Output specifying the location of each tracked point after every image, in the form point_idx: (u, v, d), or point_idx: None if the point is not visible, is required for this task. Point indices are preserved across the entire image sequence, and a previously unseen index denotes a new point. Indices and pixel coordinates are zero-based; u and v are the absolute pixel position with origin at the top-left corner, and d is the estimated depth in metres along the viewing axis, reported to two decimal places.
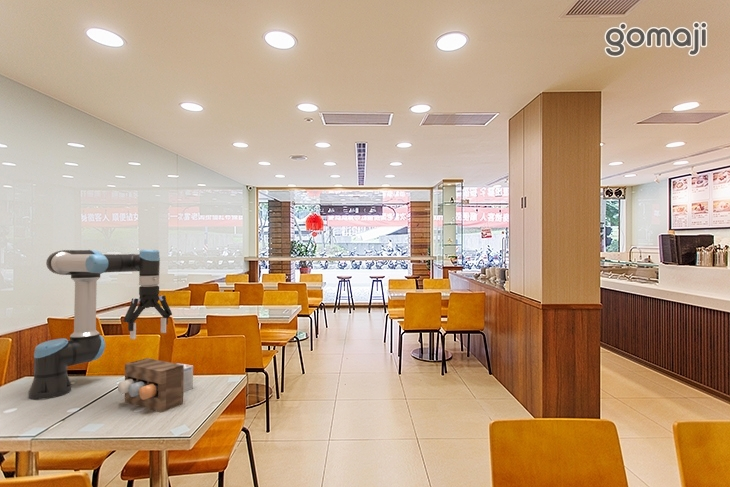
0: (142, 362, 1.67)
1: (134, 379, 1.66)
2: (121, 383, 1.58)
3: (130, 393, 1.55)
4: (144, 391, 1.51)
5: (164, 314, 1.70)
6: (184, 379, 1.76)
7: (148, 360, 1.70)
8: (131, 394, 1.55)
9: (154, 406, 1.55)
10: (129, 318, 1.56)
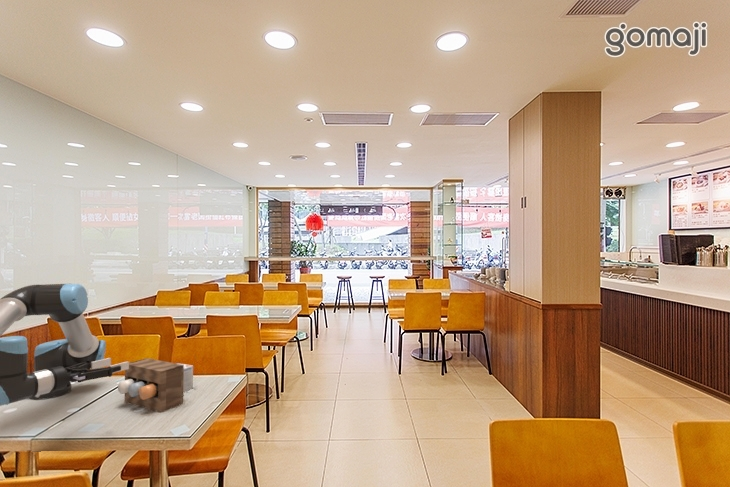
0: (142, 362, 1.67)
1: (134, 379, 1.66)
2: (121, 383, 1.58)
3: (130, 393, 1.55)
4: (144, 391, 1.51)
5: None
6: (184, 379, 1.76)
7: (148, 360, 1.70)
8: (131, 394, 1.55)
9: (154, 406, 1.55)
10: None
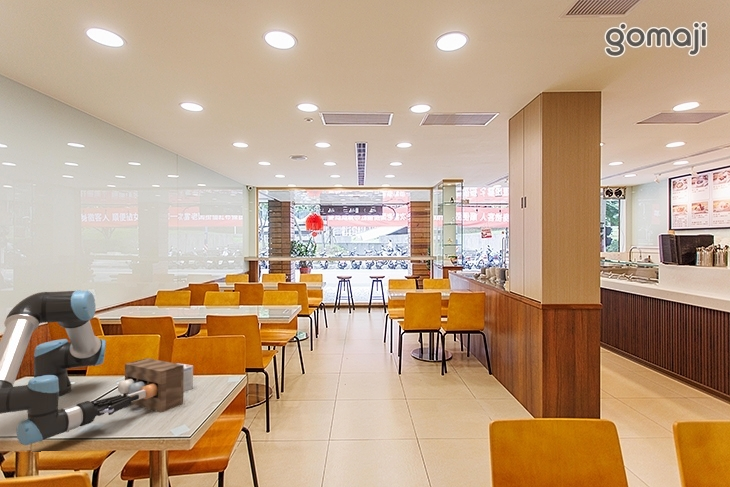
0: (142, 362, 1.67)
1: (134, 379, 1.66)
2: (121, 383, 1.58)
3: (130, 393, 1.55)
4: (146, 390, 1.52)
5: None
6: (184, 379, 1.76)
7: (148, 360, 1.70)
8: None
9: (154, 406, 1.55)
10: None
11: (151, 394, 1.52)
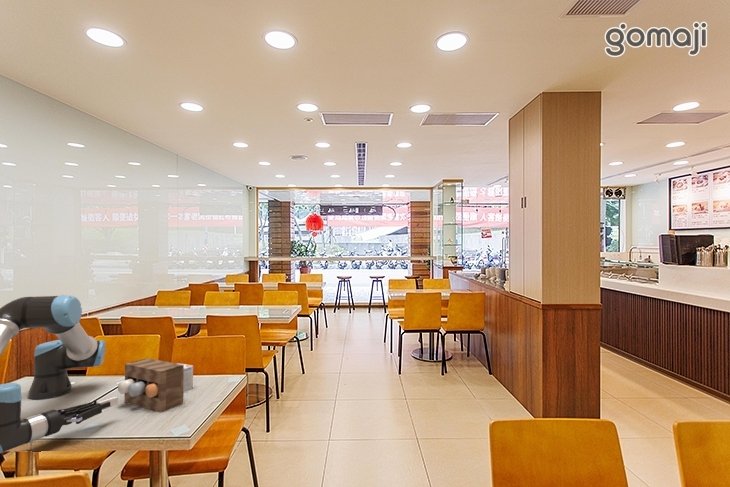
0: (142, 362, 1.67)
1: (134, 379, 1.66)
2: (121, 383, 1.58)
3: (130, 393, 1.55)
4: (150, 389, 1.54)
5: None
6: (184, 379, 1.76)
7: (148, 360, 1.70)
8: (131, 394, 1.55)
9: (154, 406, 1.55)
10: None
11: (156, 392, 1.54)
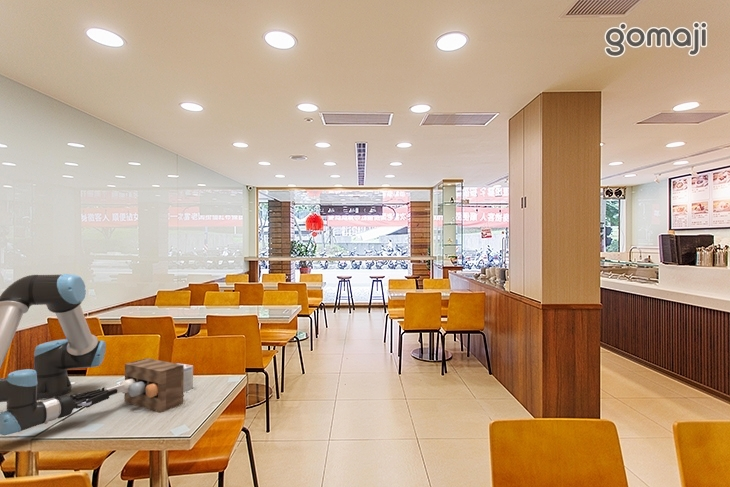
0: (142, 362, 1.67)
1: None
2: (123, 382, 1.59)
3: (130, 393, 1.55)
4: (150, 389, 1.54)
5: None
6: (184, 379, 1.76)
7: (148, 360, 1.70)
8: (131, 394, 1.55)
9: (154, 406, 1.55)
10: None
11: (156, 392, 1.54)
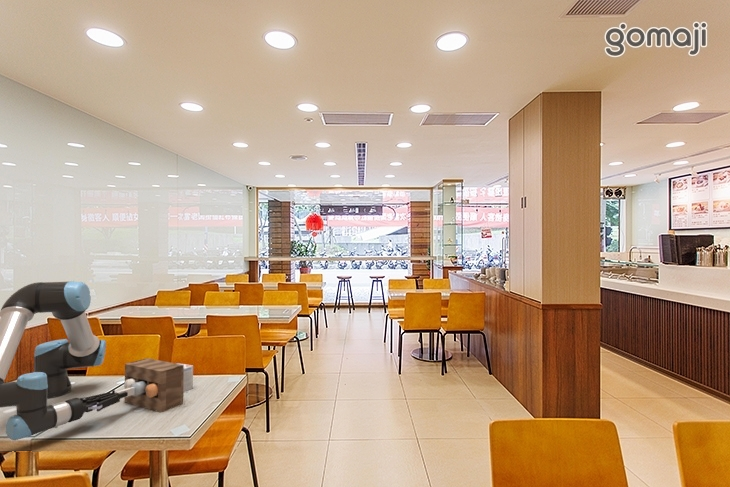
0: (142, 362, 1.67)
1: None
2: (127, 381, 1.60)
3: None
4: (150, 389, 1.54)
5: None
6: (184, 379, 1.76)
7: (148, 360, 1.70)
8: None
9: (154, 406, 1.55)
10: None
11: (156, 392, 1.54)
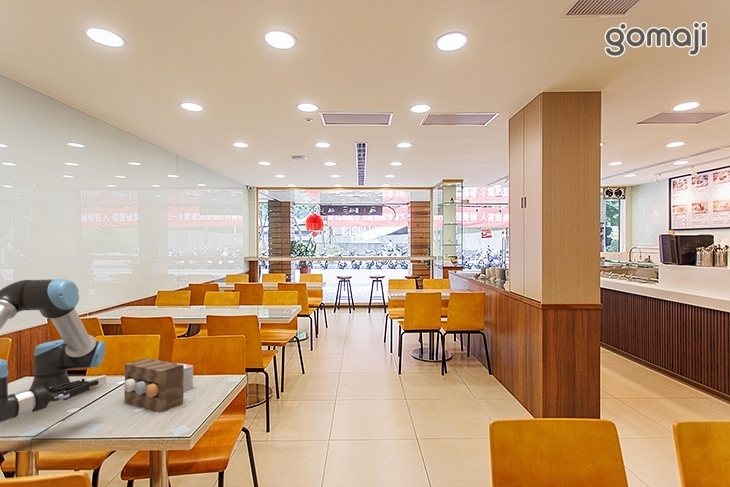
0: (142, 362, 1.67)
1: None
2: (127, 381, 1.60)
3: (136, 391, 1.58)
4: (150, 389, 1.54)
5: None
6: (184, 379, 1.76)
7: (148, 360, 1.70)
8: (137, 392, 1.57)
9: (154, 406, 1.55)
10: None
11: (156, 392, 1.54)
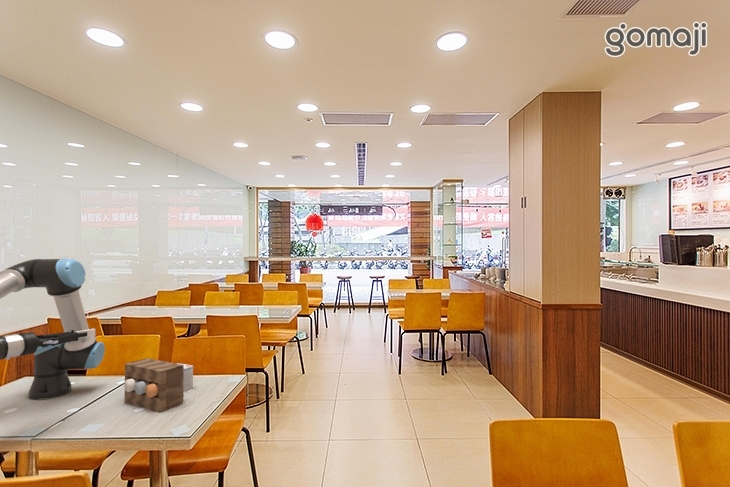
0: (142, 362, 1.67)
1: None
2: (127, 381, 1.60)
3: (136, 391, 1.58)
4: (150, 389, 1.54)
5: None
6: (184, 379, 1.76)
7: (148, 360, 1.70)
8: (137, 392, 1.57)
9: (154, 406, 1.55)
10: None
11: (156, 392, 1.54)
